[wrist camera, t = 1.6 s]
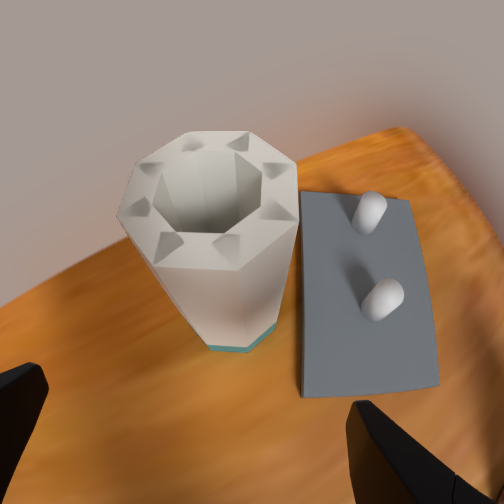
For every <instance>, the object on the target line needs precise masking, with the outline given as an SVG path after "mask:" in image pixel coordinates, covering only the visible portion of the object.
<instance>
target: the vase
mask: <svg viewBox="0 0 504 504" xmlns="http://www.w3.org/2000/svg"><path fill="white" fill-rule="evenodd" d="M116 217H117V218H118V220H119V222H120V223H121V225H122V227H123V228H124V230H125V231H126V233H127V235H128V236H129V238H130V239H131V241H132V243H133V244H134V246H135V247H136V249H137V250H138V252H139V253H140V255H141V256H142V258H143V260H144V261H145V263H146V264H147V266H148V267H149V269H150V270H151V272H152V273H153V274H154V276H155V277H156V279H157V280H158V282H159V283H160V285H161V286H162V288H163V289H164V290H165V292H166V293H167V295H168V296H169V298H170V299H171V300H172V302H173V303H174V305H175V306H176V307H177V309H178V310H179V311H180V313H181V314H182V316H183V317H184V318H185V320H186V321H187V322H188V324H189V325H190V326H191V327H192V328H193V330H194V331H195V332H196V333H197V334H198V336H199V337H200V338H201V339H202V340H203V342H204V343H205V344H206V345H207V346H208V347H209V349H210V350H212V351H226V352H242V353H248V352H249V351H250V350H252V349H253V348H254V347H255V346H256V345H257V344H259V343H260V342H261V341H262V340H263V339H264V338H265V337H266V336H268V335H269V334H270V333H271V332H272V331H273V330H274V329H275V326H276V322H277V318H278V314H279V310H280V305H281V301H282V297H283V293H284V288H285V284H286V280H287V275H288V271H289V266H290V262H291V257H292V253H293V248H294V244H295V239H296V234H297V230H298V225H299V206H298V185H297V166H296V163H294V162H293V161H292V160H290V159H289V158H287V157H286V156H285V155H283V154H281V153H280V152H279V151H277V150H276V149H275V148H273V147H272V146H270V145H269V144H267V143H266V142H264V141H263V140H262V139H260V138H259V137H257V136H255V135H254V134H253V133H251V132H250V131H249V132H248V131H205V132H204V131H202V132H201V131H200V132H187V133H185V134H183V135H182V136H180V137H178V138H176V139H175V140H173V141H171V142H169V143H168V144H166V145H164V146H163V147H161V148H159V149H158V150H156V151H155V152H153V153H151V154H150V155H148V156H146V157H145V158H143V159H142V160H140V161H139V162H137V163H136V164H135V166H134V169H133V172H132V174H131V177H130V180H129V182H128V185H127V188H126V190H125V193H124V196H123V199H122V202H121V204H120V207H119V210H118V213H117V216H116Z"/></svg>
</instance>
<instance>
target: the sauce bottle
mask: <svg viewBox="0 0 504 504" xmlns="http://www.w3.org/2000/svg"><path fill="white" fill-rule="evenodd" d="M497 503H499V504H504V488H503V490H502V492H501V494H500V496H499V499H498V502H497Z"/></svg>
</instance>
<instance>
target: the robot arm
mask: <svg viewBox="0 0 504 504" xmlns="http://www.w3.org/2000/svg"><path fill="white" fill-rule="evenodd" d="M48 391H49V386H48V383H47V380H46V378H45V375H44V373H43V370H42V368H41V367H40V365H38V364H35V363H32V362H28V363H25V364H23V365H20V366H18V367H15V368H13V369H10V370H8V371H5V372H3V373H0V504H2V501H3V499H4V496H5V493H6V491H7V488H8V486H9V483H10V481H11V479H12V476H13V474H14V471H15V469H16V467H17V464H18V462H19V460H20V458H21V456H22V453H23V451H24V449H25V447H26V445H27V443H28V441H29V438H30V436H31V434H32V432H33V430H34V428H35V425H36V423H37V420H38V417H39V415H40V412H41V409H42V407H43V404H44V402H45V399H46V397H47V394H48ZM346 437H347V447H348V458H349V469H350V478H351V483H352V488H353V492H354V497H355V502H356V504H499V503H497V502H495V501H493V500H492V499H490V498H489V497H487V496H486V495H484V494H482V493H481V492H479V491H478V490H477V489H475V488H474V487H473V486H471V485H470V484H469V483H467V482H466V481H465V480H463V479H462V478H461V477H460V476H458V475H455V472H453V471H452V470H451V469H450V468H448V467H447V466H446V465H445V464H444V463H442V462H441V461H440V460H439V459H438V458H436V457H435V456H434V455H433V454H431V453H430V452H429V451H428V450H427V449H425V448H424V447H423V446H422V445H421V444H420V443H418V442H417V441H416V440H415V439H414V438H412V437H411V436H410V435H409V434H408V433H407V432H405V431H404V430H403V429H402V428H401V427H400V426H398V425H397V424H396V423H395V422H394V421H393V420H391V419H390V418H389V417H388V416H387V415H386V414H384V413H383V412H382V411H381V410H380V409H379V408H378V407H376V406H375V405H374V404H373V403H372V402H371V401H369V400H359V401H354V402H353V404H352V406H351V409H350V412H349V415H348V418H347V421H346Z"/></svg>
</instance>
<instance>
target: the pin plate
mask: <svg viewBox="0 0 504 504" xmlns="http://www.w3.org/2000/svg"><path fill="white" fill-rule="evenodd" d="M299 209H300V234H301V271H302V375H301V398H321V397H346V396H361V395H374V394H384V393H394V392H402V391H410V390H417V389H424V388H431V387H435V386H439V369H438V356H437V345H436V335H435V326H434V318H433V311H432V304H431V298H430V292H429V286H428V280H427V275H426V270H425V265H424V260H423V255H422V251H421V246H420V242H419V238H418V233H417V229H416V225H415V222H414V218H413V214H412V210H411V207H410V203H409V200H400V199H391V198H384V197H383V196H382V195H381V194H379V193H377V192H375V191H367V192H365V193H364V194H363V195H362V196H360V195H348V194H335V193H321V192H305V191H301V192H300V198H299Z"/></svg>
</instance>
